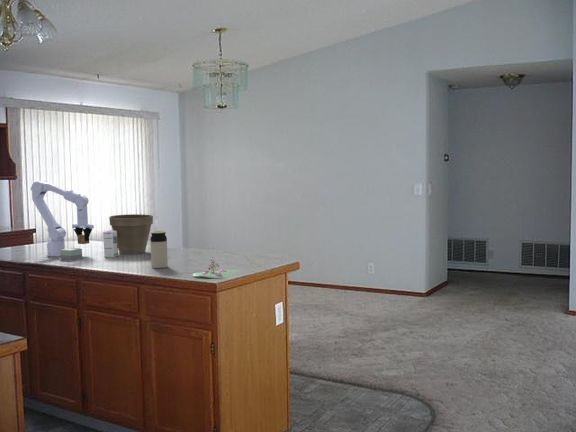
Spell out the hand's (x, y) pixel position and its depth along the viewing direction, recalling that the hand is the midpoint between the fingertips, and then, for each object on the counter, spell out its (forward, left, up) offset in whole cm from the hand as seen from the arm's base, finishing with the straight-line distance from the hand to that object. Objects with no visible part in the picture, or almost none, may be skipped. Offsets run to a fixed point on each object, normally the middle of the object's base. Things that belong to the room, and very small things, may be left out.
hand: (83, 240), depth 361 cm
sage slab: (+4, -14, -6) cm, 15 cm away
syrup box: (+18, +2, -9) cm, 20 cm away
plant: (+106, -25, -9) cm, 109 cm away
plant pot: (+20, +18, -9) cm, 28 cm away
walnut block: (0, 0, -2) cm, 2 cm away
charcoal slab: (+4, -14, -9) cm, 17 cm away
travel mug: (+68, -19, -9) cm, 71 cm away
